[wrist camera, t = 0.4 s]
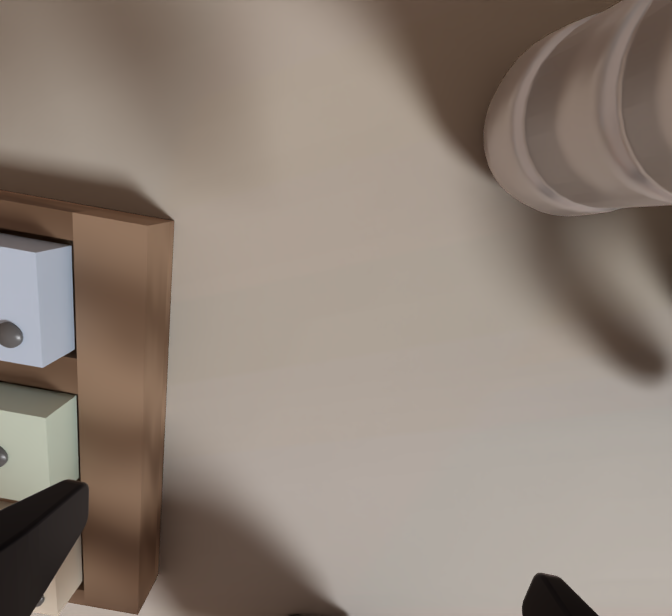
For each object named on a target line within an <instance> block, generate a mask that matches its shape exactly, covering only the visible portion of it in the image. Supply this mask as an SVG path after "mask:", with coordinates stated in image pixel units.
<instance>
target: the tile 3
mask: <svg viewBox="0 0 672 616" xmlns="http://www.w3.org/2000/svg"><path fill="white" fill-rule="evenodd" d="M12 504H14V503H9V502H3V501H0V510H2V509H4V508H6V507H8V506H10V505H12ZM81 582H82V553H81V534H80V536H79V538H78V539H77V541H76V543H75V544H74V546H73V547H72V549H71V551H70V552H69V554H68V556H67V557H66V559H65V560H64V562H63V564H62V565H61V567H60V569H59V570H58V572H57V574H56V575H55V577H54V578H53V580H52V582H51V583H50V585H49V587H48V588H47V590H46V591H45V593H44V595H43V596H42V598H41V600H40V601H39V603H38V604H37V606H36V607H35V609H34V610H33V612H36V613H41V614H47V615H53V616H58V615H59V614H60V612H61V611H62V610H63V608H64V607H65V605H66V604H67V602H68V601H69V600H70V598H71V597H72V595H73V594H74V592H75V591H76V589H77V588H78V587H79V585H80V584H81Z"/></svg>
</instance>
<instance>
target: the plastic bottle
mask: <svg viewBox="0 0 672 616" xmlns="http://www.w3.org/2000/svg"><path fill="white" fill-rule="evenodd" d="M483 140H484V152H485V155H486V159H487V163H488V166H489V168H490V170H491V172H492V174H493V176H494V178H495V179H496V180H497V182H498V183H499V184H500V185H501V187H502V188H503V189H504V190H505V191H506V192H508V193H509V194H510V195H511V196H513V197H514V198H515V199H517V200H518V201H520V202H522V203H523V204H525V205H527V206H529V207H531V208H533V209H535V210H537V211H539V212H543V213H547V214H551V215H555V216H581V215H590V214H597V213H605V212H611V211H614V210H618V209H622V208H629V207H646V206H664V205H672V0H622V1H621V2H619V3H617V4H615V5H614V6H612V7H610V8H608V9H607V10H605V11H603V12H600V13H597V14H594V15H591V16H588V17H585V18H583V19H580V20H578V21H575V22H573V23H571V24H568V25H566V26H564V27H562V28H560V29H558V30H556V31H554V32H552V33H550V34H549V35H547V36H546V37H544V38H543V39H541V40H539V41H538V42H536V43H535V44H533V45H532V46H531V47H530V48H529V49H528V50H527V51H525V52H524V53H523V54H522V55H521V56H520V57H519V58H518V59H517V60H516V62H515V63H514V64H513V66H512V67H511V68H510V69H509V71H508V72H507V73H506V75H505V76H504V78H503V80H502V81H501V83H500V85H499V87H498V88H497V90H496V92H495V94H494V96H493V98H492V100H491V102H490V105H489V108H488V111H487V114H486V118H485V124H484V132H483Z"/></svg>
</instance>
